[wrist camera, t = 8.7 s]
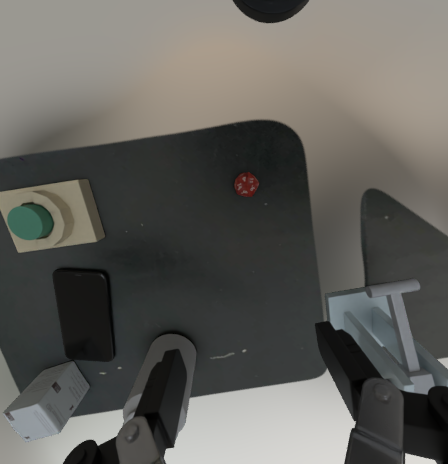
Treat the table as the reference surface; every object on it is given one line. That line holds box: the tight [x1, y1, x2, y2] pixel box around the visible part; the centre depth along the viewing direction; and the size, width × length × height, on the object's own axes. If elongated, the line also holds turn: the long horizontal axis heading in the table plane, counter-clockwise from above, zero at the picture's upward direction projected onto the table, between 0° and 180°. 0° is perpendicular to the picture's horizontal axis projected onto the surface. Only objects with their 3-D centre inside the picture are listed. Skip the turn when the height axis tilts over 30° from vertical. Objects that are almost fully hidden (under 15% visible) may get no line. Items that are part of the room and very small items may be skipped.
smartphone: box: [53, 269, 115, 362], centre depth 34 cm, size 8×1×16 cm
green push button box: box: [0, 179, 105, 253], centre depth 29 cm, size 11×8×4 cm
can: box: [123, 334, 196, 440], centre depth 31 cm, size 8×8×12 cm
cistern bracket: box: [325, 287, 448, 393], centre depth 28 cm, size 10×9×13 cm
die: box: [234, 172, 259, 197], centre depth 28 cm, size 3×3×3 cm
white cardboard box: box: [3, 361, 90, 442], centre depth 35 cm, size 6×6×7 cm
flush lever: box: [365, 278, 435, 395], centre depth 24 cm, size 12×5×2 cm, turn 11°
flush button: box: [7, 204, 54, 240], centre depth 26 cm, size 4×4×2 cm
